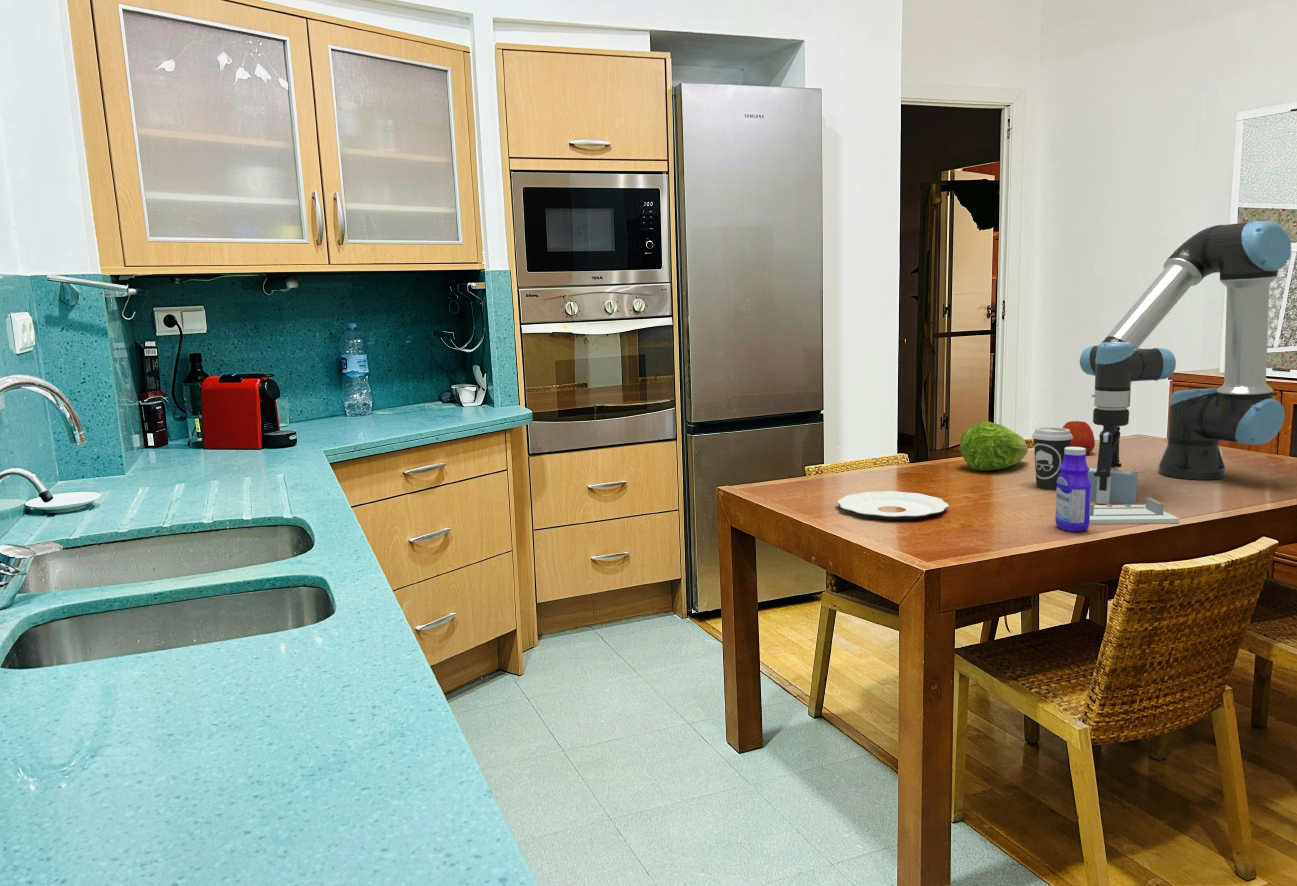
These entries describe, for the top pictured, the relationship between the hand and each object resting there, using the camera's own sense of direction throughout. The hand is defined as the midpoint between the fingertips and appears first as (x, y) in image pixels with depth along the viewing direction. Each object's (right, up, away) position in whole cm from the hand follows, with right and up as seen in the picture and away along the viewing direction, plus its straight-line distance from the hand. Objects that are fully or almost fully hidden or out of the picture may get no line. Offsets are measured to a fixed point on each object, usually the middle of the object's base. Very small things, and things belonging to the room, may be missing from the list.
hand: (1106, 498), depth 211 cm
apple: (+21, +10, +59) cm, 64 cm away
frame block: (0, 0, 0) cm, 0 cm away
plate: (-52, -3, -3) cm, 52 cm away
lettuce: (-9, +6, +42) cm, 44 cm away
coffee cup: (-7, +2, +15) cm, 17 cm away
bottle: (-20, -5, -24) cm, 32 cm away
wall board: (-5, -3, -16) cm, 17 cm away
